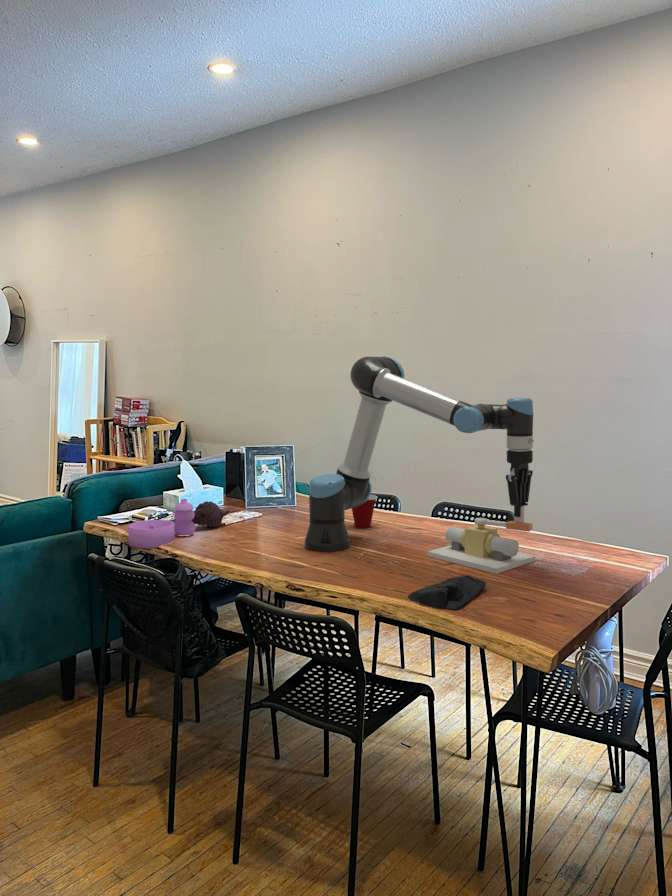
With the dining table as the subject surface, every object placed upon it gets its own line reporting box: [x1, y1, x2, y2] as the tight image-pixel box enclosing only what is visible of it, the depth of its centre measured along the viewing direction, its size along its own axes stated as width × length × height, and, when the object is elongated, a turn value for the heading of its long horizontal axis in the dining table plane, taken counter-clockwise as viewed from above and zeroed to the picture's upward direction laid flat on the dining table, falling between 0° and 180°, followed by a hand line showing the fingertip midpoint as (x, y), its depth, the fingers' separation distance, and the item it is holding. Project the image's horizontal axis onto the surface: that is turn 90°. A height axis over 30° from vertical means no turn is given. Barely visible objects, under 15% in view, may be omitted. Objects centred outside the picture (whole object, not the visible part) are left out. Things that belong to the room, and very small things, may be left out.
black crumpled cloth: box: [407, 574, 487, 611], centre depth 182 cm, size 15×22×5 cm
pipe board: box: [427, 525, 536, 574], centre depth 216 cm, size 20×26×11 cm
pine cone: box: [191, 500, 230, 528], centre depth 260 cm, size 18×10×10 cm, turn 136°
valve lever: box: [474, 517, 533, 533], centre depth 211 cm, size 18×4×2 cm, turn 56°
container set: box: [127, 498, 196, 549], centre depth 242 cm, size 25×15×13 cm, turn 138°
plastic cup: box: [351, 494, 379, 529], centre depth 261 cm, size 11×11×12 cm
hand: (519, 526), depth 211 cm, fingers closed
